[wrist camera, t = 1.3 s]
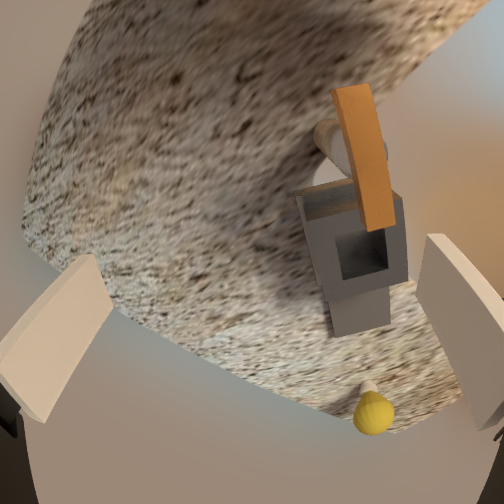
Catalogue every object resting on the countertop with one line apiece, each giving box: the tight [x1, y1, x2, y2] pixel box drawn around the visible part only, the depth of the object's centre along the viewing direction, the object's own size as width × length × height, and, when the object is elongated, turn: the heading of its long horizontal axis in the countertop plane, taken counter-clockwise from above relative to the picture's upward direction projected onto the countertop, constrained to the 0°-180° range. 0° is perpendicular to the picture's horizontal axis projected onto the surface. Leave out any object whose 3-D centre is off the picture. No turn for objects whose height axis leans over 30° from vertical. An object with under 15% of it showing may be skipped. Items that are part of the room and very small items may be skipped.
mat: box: [328, 286, 391, 338], centre depth 37 cm, size 10×8×1 cm
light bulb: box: [353, 380, 394, 435], centre depth 41 cm, size 7×7×10 cm
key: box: [313, 83, 396, 232], centre depth 22 cm, size 9×4×14 cm, turn 18°
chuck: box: [294, 178, 408, 302], centre depth 30 cm, size 11×10×6 cm
